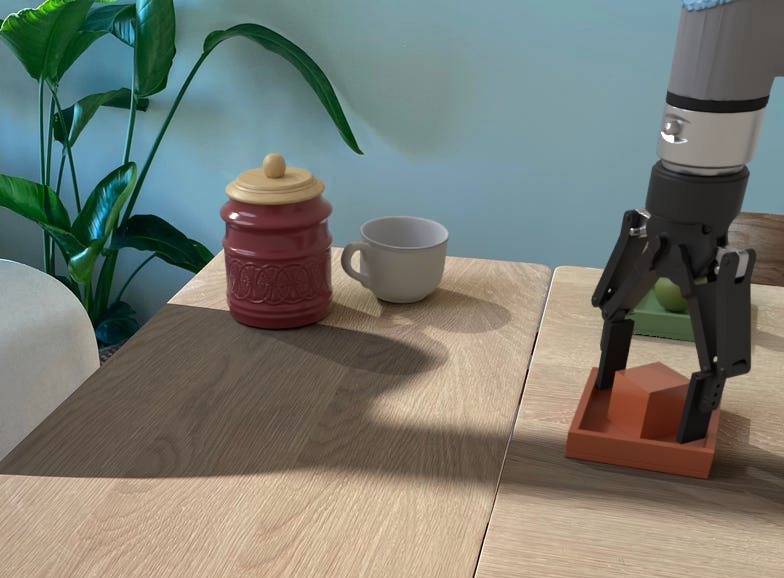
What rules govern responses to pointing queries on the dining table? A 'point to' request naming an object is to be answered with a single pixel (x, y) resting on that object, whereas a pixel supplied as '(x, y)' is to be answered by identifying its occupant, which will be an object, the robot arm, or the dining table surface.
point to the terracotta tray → (634, 440)
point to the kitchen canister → (277, 246)
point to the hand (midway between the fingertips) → (647, 412)
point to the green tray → (661, 320)
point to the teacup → (399, 257)
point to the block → (648, 400)
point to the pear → (671, 295)
